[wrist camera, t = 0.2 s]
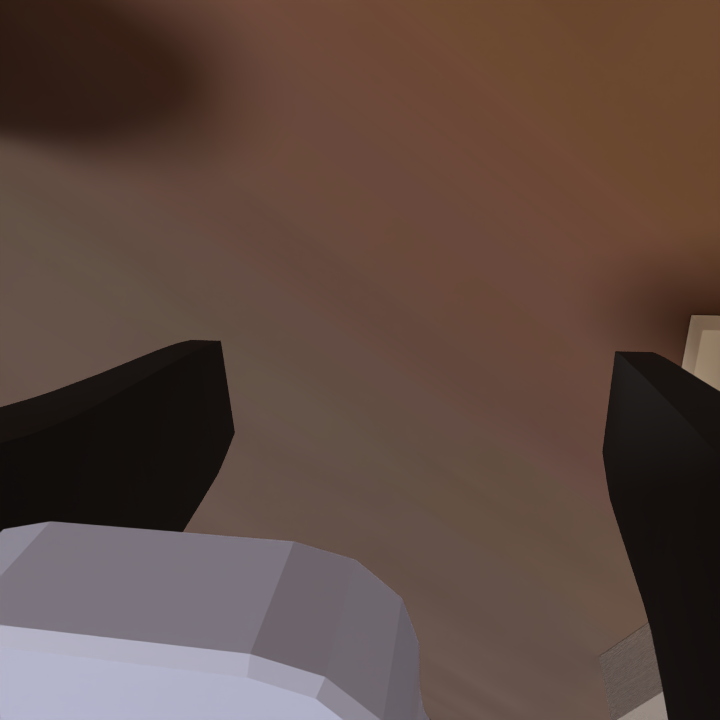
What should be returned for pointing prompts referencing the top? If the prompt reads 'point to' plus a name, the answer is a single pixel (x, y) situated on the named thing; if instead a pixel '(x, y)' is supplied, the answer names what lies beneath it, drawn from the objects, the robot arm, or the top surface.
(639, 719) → the grey angled bracket
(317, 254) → the top surface
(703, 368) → the beige plate with hole
